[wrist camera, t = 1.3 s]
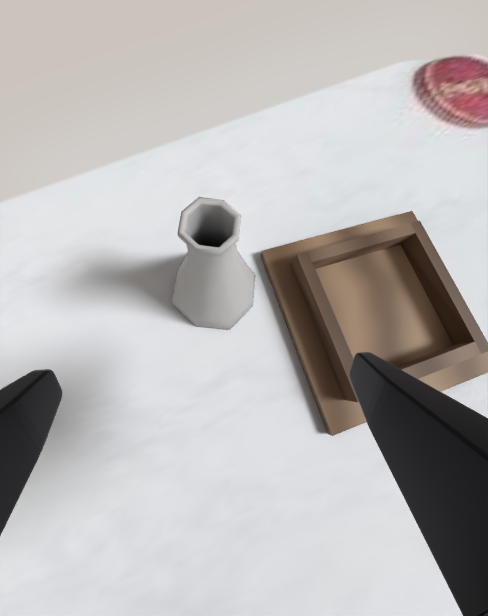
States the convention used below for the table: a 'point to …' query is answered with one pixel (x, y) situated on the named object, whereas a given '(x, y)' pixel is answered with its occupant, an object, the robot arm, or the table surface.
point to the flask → (212, 266)
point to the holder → (373, 311)
